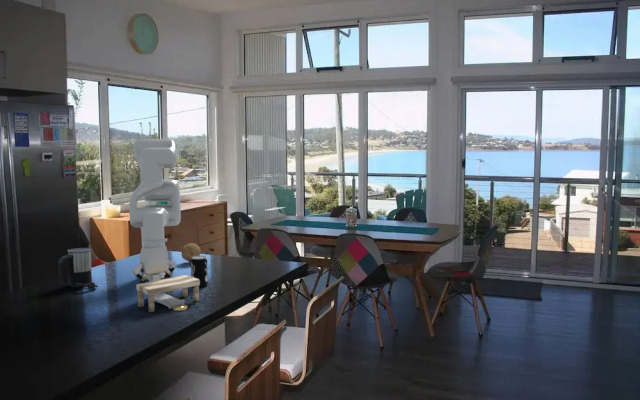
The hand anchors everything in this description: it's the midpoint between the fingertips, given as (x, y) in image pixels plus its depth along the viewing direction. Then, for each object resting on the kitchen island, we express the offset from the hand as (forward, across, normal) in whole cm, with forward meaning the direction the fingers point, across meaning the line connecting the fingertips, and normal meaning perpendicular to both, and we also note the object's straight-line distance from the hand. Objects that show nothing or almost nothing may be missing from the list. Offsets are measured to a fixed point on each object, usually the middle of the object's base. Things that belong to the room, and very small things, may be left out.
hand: (155, 287), depth 205 cm
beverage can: (+4, -21, -3) cm, 21 cm away
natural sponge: (+5, -40, -41) cm, 57 cm away
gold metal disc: (+4, 0, +19) cm, 19 cm away
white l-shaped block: (+4, 0, +7) cm, 8 cm away
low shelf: (+4, 0, +10) cm, 11 cm away
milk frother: (+4, +14, -34) cm, 37 cm away
